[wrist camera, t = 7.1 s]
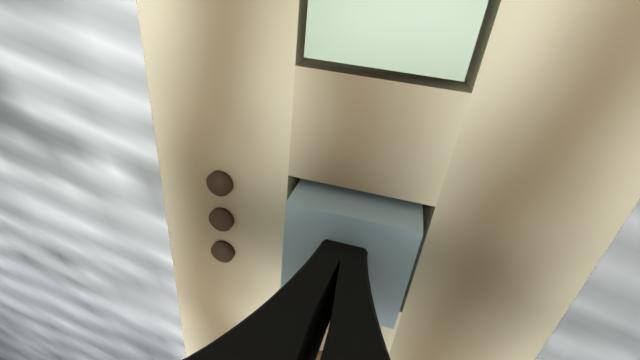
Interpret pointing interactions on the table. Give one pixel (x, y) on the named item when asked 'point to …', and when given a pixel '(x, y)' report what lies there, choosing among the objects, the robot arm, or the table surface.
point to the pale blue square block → (356, 236)
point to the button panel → (400, 161)
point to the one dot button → (396, 34)
